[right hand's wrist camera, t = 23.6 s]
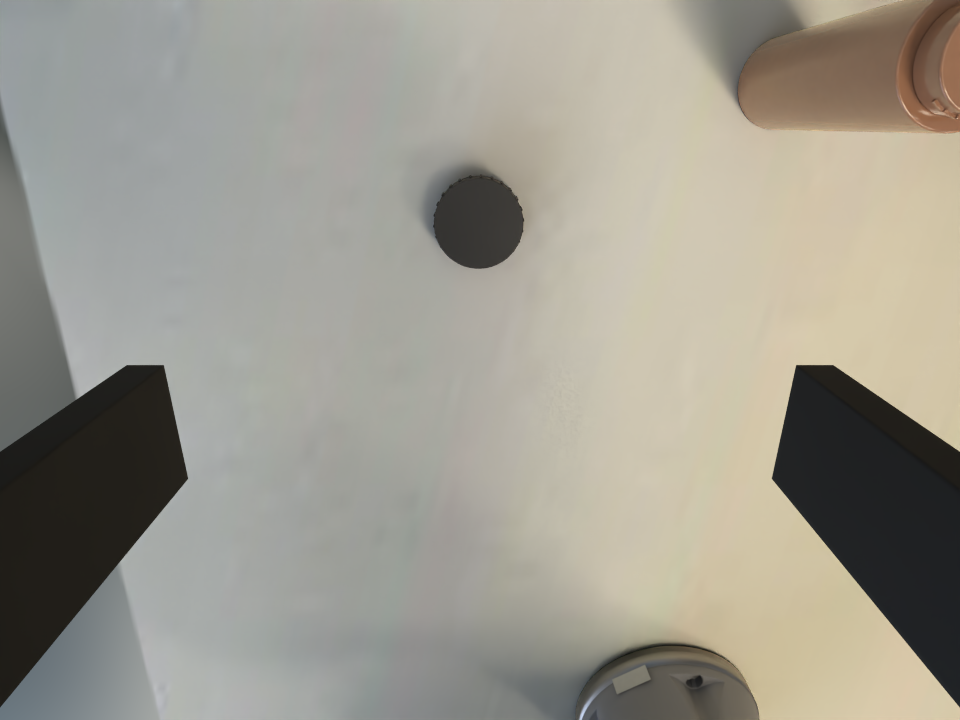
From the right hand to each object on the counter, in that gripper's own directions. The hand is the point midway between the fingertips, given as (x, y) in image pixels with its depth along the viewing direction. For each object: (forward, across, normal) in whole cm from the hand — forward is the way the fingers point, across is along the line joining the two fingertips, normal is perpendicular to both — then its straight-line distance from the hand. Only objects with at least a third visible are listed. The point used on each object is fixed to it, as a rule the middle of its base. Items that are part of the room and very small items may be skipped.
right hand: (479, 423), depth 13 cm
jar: (+26, +17, +8) cm, 32 cm away
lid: (+25, 0, 0) cm, 25 cm away
